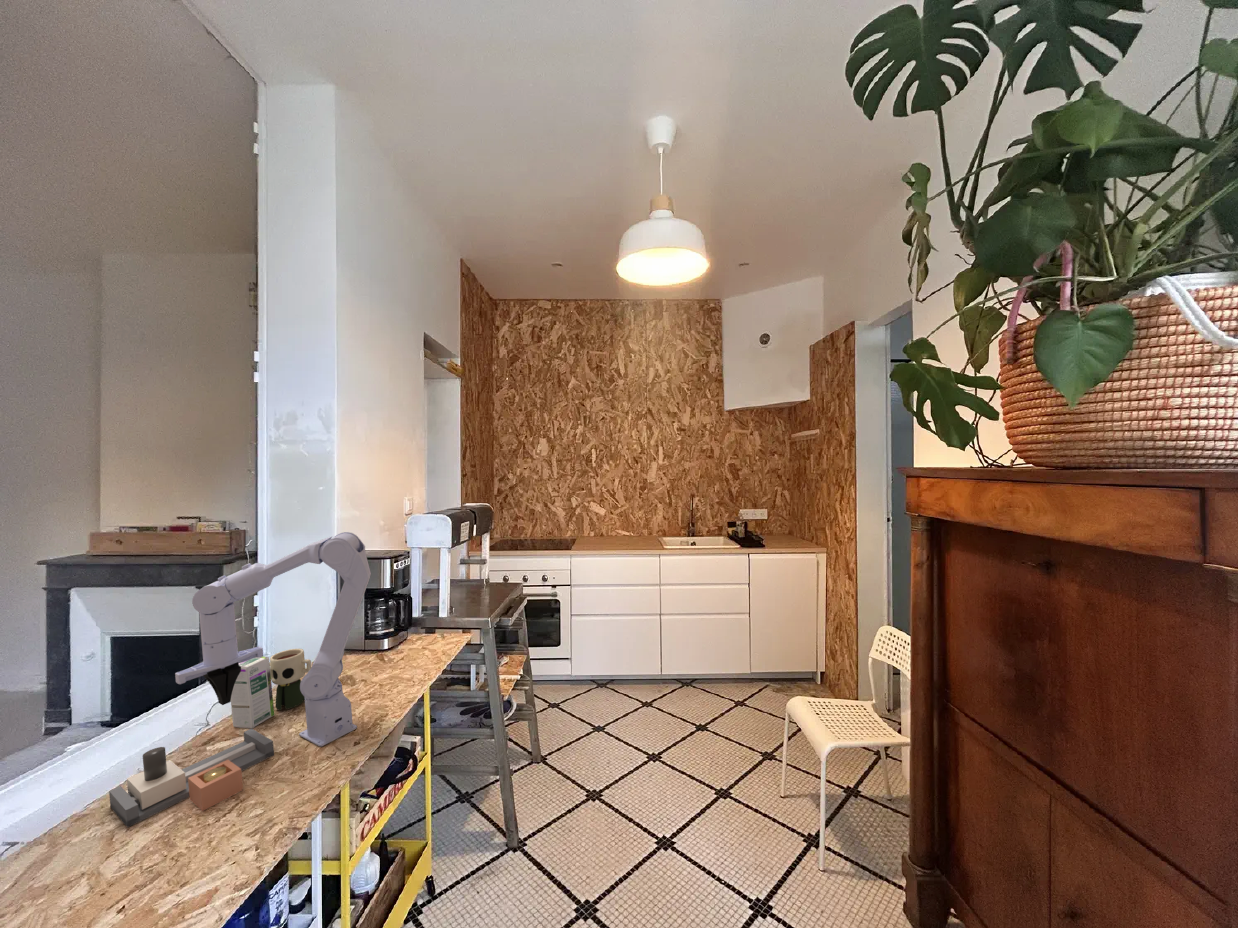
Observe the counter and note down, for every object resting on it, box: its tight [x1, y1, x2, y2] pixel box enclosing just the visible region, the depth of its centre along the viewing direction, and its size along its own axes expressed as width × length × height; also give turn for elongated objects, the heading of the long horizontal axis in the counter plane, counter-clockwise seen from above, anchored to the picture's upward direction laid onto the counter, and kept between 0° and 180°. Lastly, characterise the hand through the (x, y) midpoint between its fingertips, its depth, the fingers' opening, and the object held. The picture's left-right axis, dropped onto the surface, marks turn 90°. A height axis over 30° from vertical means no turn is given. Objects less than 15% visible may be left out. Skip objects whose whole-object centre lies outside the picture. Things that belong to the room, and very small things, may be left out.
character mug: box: [269, 648, 312, 711], centre depth 122 cm, size 11×7×13 cm, turn 94°
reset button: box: [203, 767, 226, 783], centre depth 90 cm, size 3×3×3 cm
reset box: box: [188, 760, 244, 812], centre depth 90 cm, size 6×6×4 cm
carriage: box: [126, 746, 186, 810], centre depth 90 cm, size 8×6×7 cm
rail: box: [108, 728, 275, 828], centre depth 95 cm, size 10×22×3 cm, turn 148°
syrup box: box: [230, 655, 275, 729], centre depth 115 cm, size 6×6×14 cm
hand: (224, 702), depth 104 cm, fingers closed
